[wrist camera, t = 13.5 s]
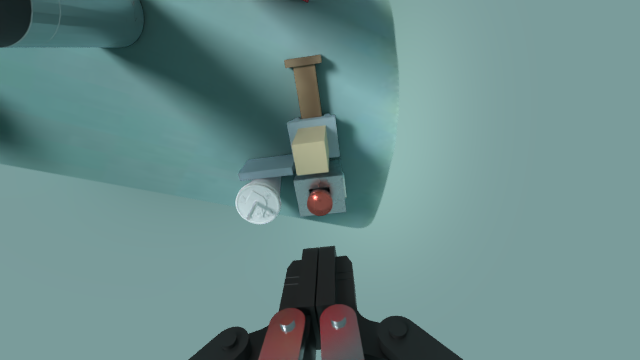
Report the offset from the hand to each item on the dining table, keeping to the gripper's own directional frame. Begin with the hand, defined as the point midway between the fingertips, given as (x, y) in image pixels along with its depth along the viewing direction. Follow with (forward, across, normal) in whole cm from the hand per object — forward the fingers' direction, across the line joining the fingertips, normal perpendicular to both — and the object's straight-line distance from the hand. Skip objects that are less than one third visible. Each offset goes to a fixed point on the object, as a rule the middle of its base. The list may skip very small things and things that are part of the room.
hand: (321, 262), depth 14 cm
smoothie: (+35, +11, +10) cm, 38 cm away
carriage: (+35, +6, +3) cm, 35 cm away
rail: (+35, +2, 0) cm, 35 cm away
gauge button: (+33, +3, +10) cm, 35 cm away
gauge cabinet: (+35, +2, +10) cm, 37 cm away
